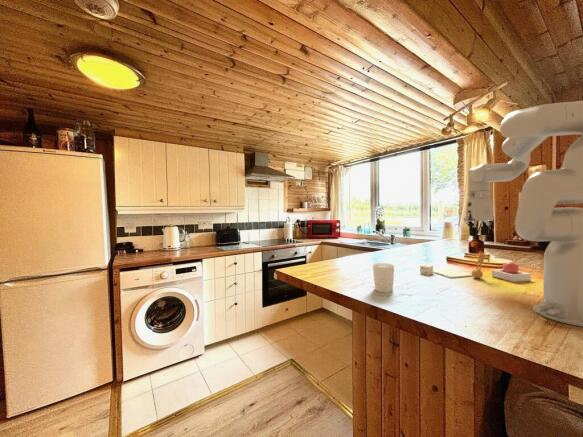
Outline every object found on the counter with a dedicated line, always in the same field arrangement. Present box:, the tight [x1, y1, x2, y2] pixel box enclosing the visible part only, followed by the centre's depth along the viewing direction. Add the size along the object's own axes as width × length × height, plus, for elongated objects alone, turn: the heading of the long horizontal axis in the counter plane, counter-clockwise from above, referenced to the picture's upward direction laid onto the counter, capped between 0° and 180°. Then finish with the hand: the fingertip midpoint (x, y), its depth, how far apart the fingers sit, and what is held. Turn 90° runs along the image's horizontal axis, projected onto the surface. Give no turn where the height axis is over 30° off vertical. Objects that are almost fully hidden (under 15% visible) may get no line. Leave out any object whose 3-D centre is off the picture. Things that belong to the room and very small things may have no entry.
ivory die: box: [419, 264, 434, 276], centre depth 116 cm, size 4×4×4 cm
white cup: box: [372, 262, 395, 294], centre depth 94 cm, size 8×8×10 cm
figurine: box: [471, 251, 490, 279], centre depth 106 cm, size 8×6×12 cm
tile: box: [433, 268, 473, 279], centre depth 114 cm, size 12×12×1 cm
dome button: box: [502, 261, 519, 274], centre depth 104 cm, size 5×5×5 cm
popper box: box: [491, 268, 532, 283], centre depth 104 cm, size 9×9×3 cm
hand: (479, 235), depth 105 cm, fingers open, 5 cm apart
